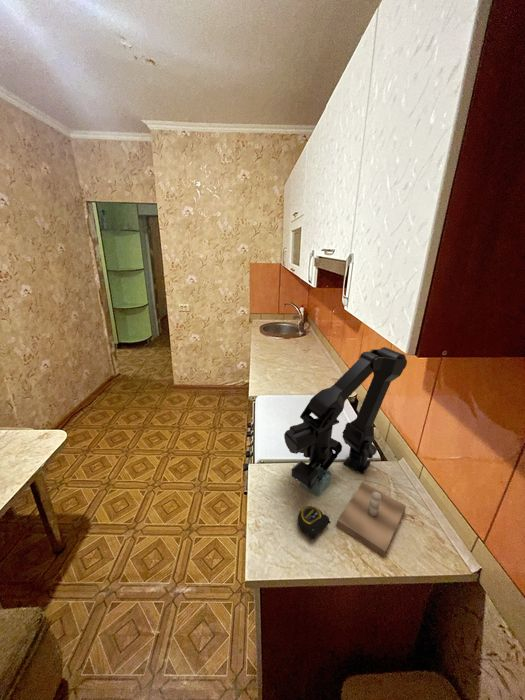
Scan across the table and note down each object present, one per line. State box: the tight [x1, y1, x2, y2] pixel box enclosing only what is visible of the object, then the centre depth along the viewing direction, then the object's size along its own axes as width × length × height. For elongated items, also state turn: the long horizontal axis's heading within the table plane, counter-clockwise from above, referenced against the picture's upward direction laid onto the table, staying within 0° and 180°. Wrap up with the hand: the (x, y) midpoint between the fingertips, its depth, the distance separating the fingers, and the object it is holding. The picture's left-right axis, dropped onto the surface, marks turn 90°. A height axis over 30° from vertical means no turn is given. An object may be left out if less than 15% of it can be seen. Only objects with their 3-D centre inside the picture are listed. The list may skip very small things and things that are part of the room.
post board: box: [335, 481, 407, 558], centre depth 76 cm, size 16×12×9 cm
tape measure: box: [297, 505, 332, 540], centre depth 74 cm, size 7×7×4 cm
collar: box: [299, 466, 332, 497], centre depth 87 cm, size 6×6×4 cm
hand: (315, 481), depth 87 cm, fingers closed on collar, 6 cm apart
